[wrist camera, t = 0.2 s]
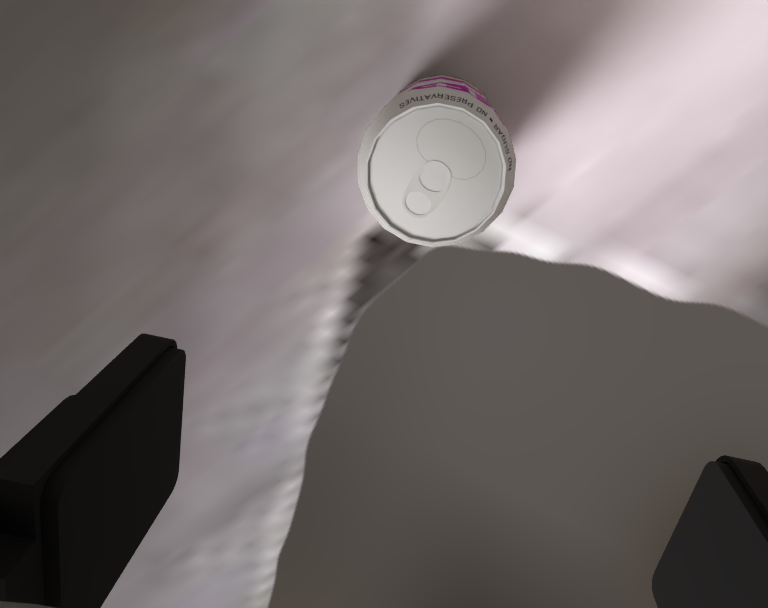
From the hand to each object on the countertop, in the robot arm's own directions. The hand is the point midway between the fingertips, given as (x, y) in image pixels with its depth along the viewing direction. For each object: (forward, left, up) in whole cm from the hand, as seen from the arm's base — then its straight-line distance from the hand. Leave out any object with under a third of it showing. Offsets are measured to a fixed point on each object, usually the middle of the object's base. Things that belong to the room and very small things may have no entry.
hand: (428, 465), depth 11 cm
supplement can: (-1, 0, -37) cm, 37 cm away
